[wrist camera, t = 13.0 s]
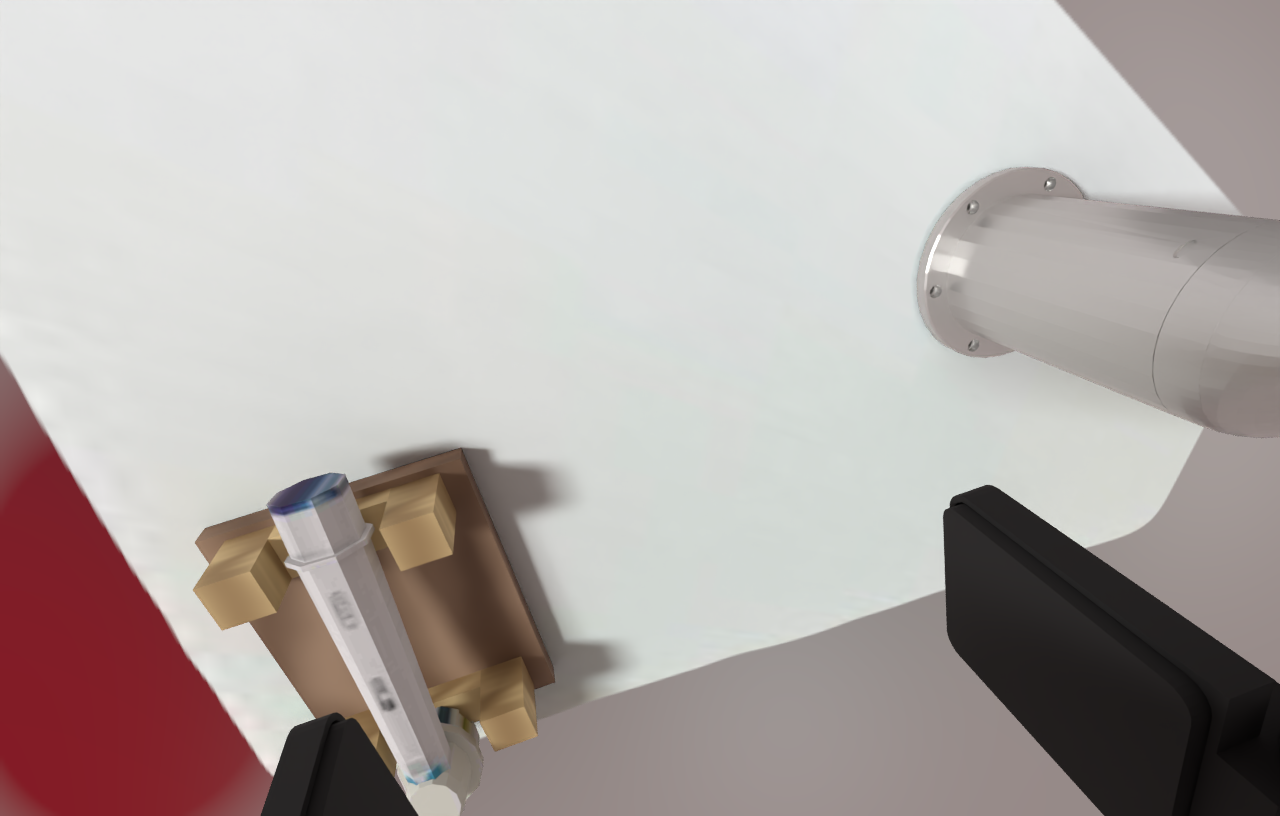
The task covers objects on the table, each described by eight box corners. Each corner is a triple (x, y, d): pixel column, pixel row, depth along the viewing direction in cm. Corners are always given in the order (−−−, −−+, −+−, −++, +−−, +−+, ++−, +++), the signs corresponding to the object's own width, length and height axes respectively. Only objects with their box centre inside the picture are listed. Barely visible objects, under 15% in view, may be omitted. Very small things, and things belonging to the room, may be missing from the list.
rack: (460, 447, 40) (456, 496, 35) (553, 666, 49) (561, 733, 43) (204, 528, 38) (158, 592, 33) (347, 740, 47) (328, 817, 42)
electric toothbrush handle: (345, 490, 32) (490, 844, 40) (373, 448, 38) (494, 760, 46) (239, 520, 32) (407, 874, 39) (286, 472, 38) (422, 784, 45)
